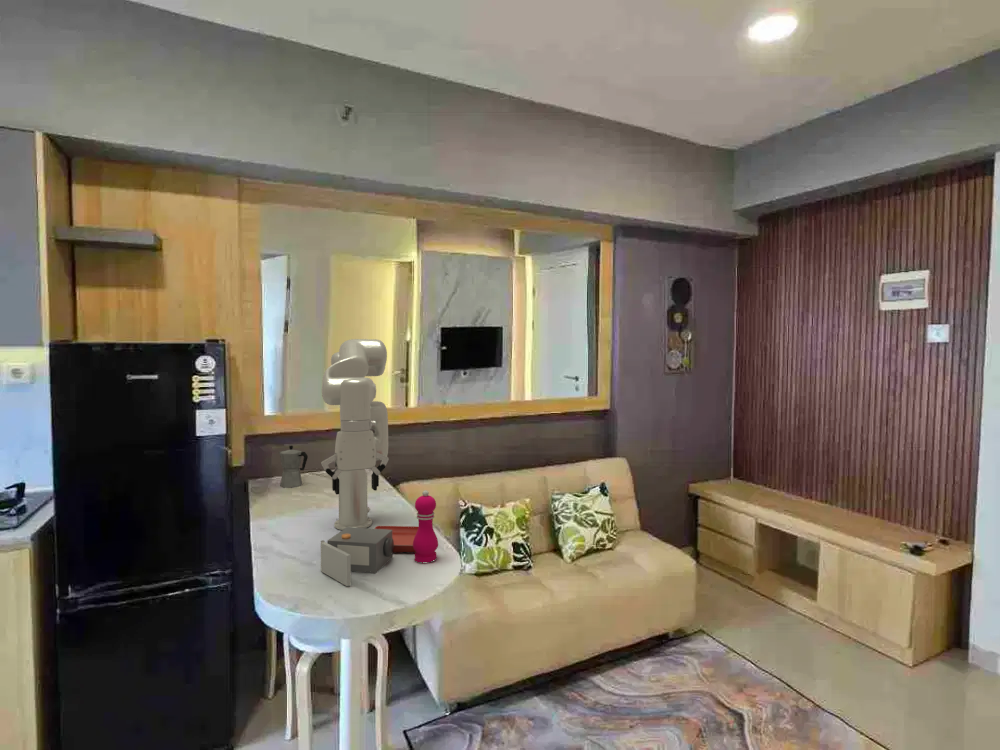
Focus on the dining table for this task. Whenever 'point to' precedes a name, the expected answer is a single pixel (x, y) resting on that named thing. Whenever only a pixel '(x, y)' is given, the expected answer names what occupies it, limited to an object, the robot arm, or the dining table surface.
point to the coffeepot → (292, 467)
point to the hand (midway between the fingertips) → (355, 491)
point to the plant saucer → (402, 537)
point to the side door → (336, 563)
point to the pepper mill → (425, 529)
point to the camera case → (365, 547)
